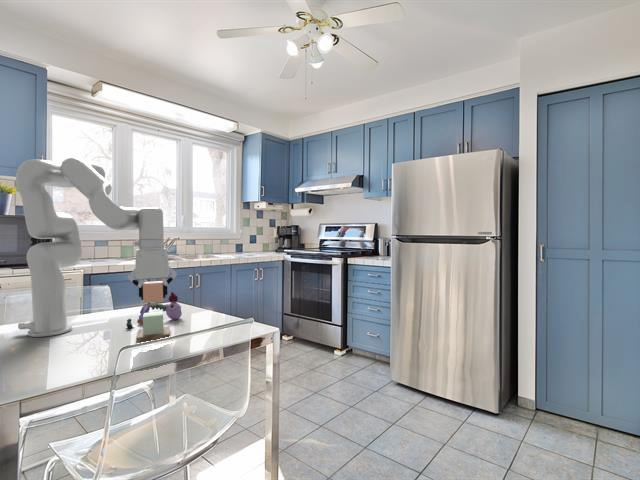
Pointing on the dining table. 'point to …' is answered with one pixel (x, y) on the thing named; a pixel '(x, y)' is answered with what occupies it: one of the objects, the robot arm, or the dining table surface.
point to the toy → (171, 309)
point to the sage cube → (152, 323)
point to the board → (152, 335)
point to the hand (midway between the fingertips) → (153, 297)
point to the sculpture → (129, 325)
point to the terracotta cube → (153, 291)
